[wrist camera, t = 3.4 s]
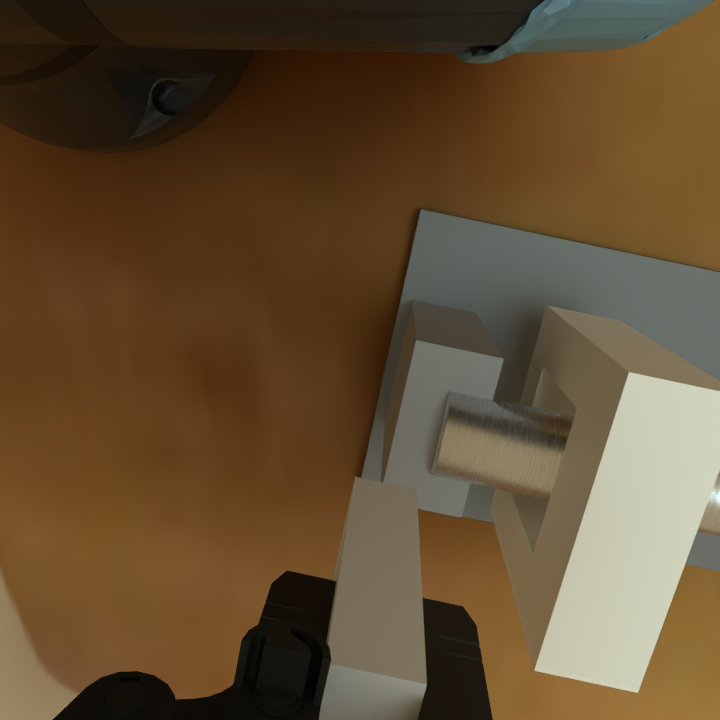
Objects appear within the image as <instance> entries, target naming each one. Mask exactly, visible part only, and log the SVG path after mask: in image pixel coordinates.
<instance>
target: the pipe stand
mask: <svg viewBox="0 0 720 720" xmlns="http://www.w3.org/2000/svg"><path fill="white" fill-rule="evenodd" d="M547 305H548V306H553V307H557V308H562V309H567V310H572V311H576V312H581V313H586V314H590V315H595V316H600V317H605V318H609V319H614V320H619V321H622V322H624V323H625V324H627V325H629V326H630V327H632V328H634V329H635V330H637V331H639V332H640V333H642V334H644V335H645V336H647V337H649V338H650V339H652V340H653V341H655V342H657V343H658V344H660V345H662V346H663V347H665V348H667V349H668V350H670V351H672V352H673V353H675V354H677V355H678V356H680V357H681V358H683V359H685V360H686V361H688V362H690V363H691V364H693V365H695V366H696V367H698V368H700V369H701V370H703V371H704V372H706V373H708V374H709V375H711V376H713V377H714V378H716V379H718V380H719V381H720V272H719V271H715V270H710V269H705V268H701V267H696V266H691V265H686V264H682V263H677V262H672V261H667V260H663V259H658V258H653V257H648V256H644V255H639V254H634V253H629V252H625V251H620V250H615V249H610V248H606V247H601V246H596V245H591V244H587V243H582V242H577V241H572V240H568V239H563V238H558V237H554V236H549V235H544V234H539V233H535V232H530V231H525V230H520V229H516V228H511V227H506V226H501V225H497V224H492V223H487V222H482V221H478V220H473V219H468V218H463V217H459V216H454V215H449V214H444V213H440V212H435V211H430V210H425V209H421V208H420V211H419V215H418V220H417V224H416V229H415V233H414V238H413V242H412V247H411V252H410V256H409V261H408V265H407V270H406V274H405V279H404V283H403V288H402V292H401V297H400V301H399V306H398V310H397V315H396V319H395V324H394V328H393V333H392V337H391V342H390V347H389V351H388V356H387V360H386V365H385V369H384V374H383V378H382V383H381V387H380V392H379V396H378V401H377V405H376V410H375V414H374V419H373V423H372V428H371V432H370V437H369V441H368V446H367V451H366V455H365V460H364V464H363V469H362V473H361V478H363V479H368V480H373V481H377V482H382V483H387V484H391V485H396V486H401V487H405V488H410V489H415V490H417V503H418V509H422V510H427V511H431V512H436V513H441V514H445V515H450V516H455V517H459V518H461V517H462V516H463V517H468V518H472V519H477V520H482V521H486V522H491V523H494V522H493V519H492V515H491V512H490V507H491V504H492V500H493V496H494V493H495V488H490V487H486V486H481V485H476V484H472V483H467V482H462V481H458V480H453V479H448V478H444V477H439V476H434V475H431V474H430V468H431V464H432V460H433V456H434V452H435V448H436V444H437V440H438V436H439V432H440V428H441V424H442V420H443V415H444V411H445V407H446V403H447V399H448V395H449V391H450V392H455V393H460V394H465V395H469V396H474V397H479V398H483V399H488V400H493V399H496V400H500V401H505V402H510V403H515V404H519V403H520V399H521V396H522V392H523V388H524V385H525V381H526V378H527V374H528V370H529V367H530V363H531V360H532V356H533V352H534V349H535V345H536V342H537V338H538V334H539V331H540V327H541V324H542V320H543V317H544V313H545V309H546V306H547ZM685 564H687V565H692V566H697V567H701V568H706V569H711V570H715V571H720V536H715V535H711V534H706V533H701V532H697V533H696V536H695V538H694V541H693V544H692V547H691V549H690V552H689V555H688V557H687V560H686V563H685Z"/></svg>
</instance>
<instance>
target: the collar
mask: <svg viewBox="0 0 720 720" xmlns="http://www.w3.org/2000/svg"><path fill="white" fill-rule="evenodd" d="M519 405H524V406H529V407H533V408H538V409H543V410H548V411H552V412H557V413H562V414H566V415H571V416H574V420H573V423H572V426H571V430H570V433H569V436H568V440H567V443H566V446H565V449H564V453H563V456H562V459H561V463H560V466H559V469H558V473H557V476H556V479H555V483H554V486H553V489H552V493H551V496H550V499H549V500H547V499H542V498H537V497H533V496H528V495H523V494H519V493H514V492H509V491H504V490H500V489H495V493H494V496H493V500H492V504H491V507H490V512H491V515H492V519H493V522H494V526H495V530H496V533H497V537H498V541H499V544H500V548H501V552H502V555H503V559H504V562H505V566H506V570H507V573H508V577H509V581H510V584H511V588H512V592H513V595H514V599H515V602H516V606H517V610H518V613H519V617H520V621H521V624H522V628H523V632H524V635H525V639H526V642H527V646H528V650H529V653H530V657H531V661H532V664H533V668H534V671H539V672H543V673H548V674H553V675H557V676H562V677H567V678H571V679H576V680H580V681H585V682H590V683H594V684H599V685H604V686H608V687H613V688H618V689H622V690H627V691H632V692H636V693H638V691H639V688H640V685H641V683H642V680H643V677H644V675H645V672H646V669H647V666H648V664H649V661H650V658H651V655H652V653H653V650H654V647H655V645H656V642H657V639H658V636H659V634H660V631H661V628H662V626H663V623H664V620H665V617H666V615H667V612H668V609H669V606H670V604H671V601H672V598H673V596H674V593H675V590H676V587H677V585H678V582H679V579H680V577H681V574H682V571H683V568H684V566H685V563H686V560H687V557H688V555H689V552H690V549H691V547H692V544H693V541H694V538H695V536H696V533H697V530H698V528H699V525H700V522H701V519H702V517H703V514H704V511H705V509H706V506H707V503H708V500H709V498H710V495H711V492H712V489H713V487H714V484H715V481H716V479H717V476H718V473H719V470H720V381H719V380H718V379H716V378H714V377H713V376H711V375H709V374H708V373H706V372H704V371H703V370H701V369H700V368H698V367H696V366H695V365H693V364H691V363H690V362H688V361H686V360H685V359H683V358H681V357H680V356H678V355H677V354H675V353H673V352H672V351H670V350H668V349H667V348H665V347H663V346H662V345H660V344H658V343H657V342H655V341H653V340H652V339H650V338H649V337H647V336H645V335H644V334H642V333H640V332H639V331H637V330H635V329H634V328H632V327H630V326H629V325H627V324H625V323H624V322H622V321H619V320H614V319H609V318H605V317H600V316H595V315H590V314H586V313H581V312H576V311H572V310H567V309H562V308H557V307H553V306H548V305H547V306H546V309H545V313H544V317H543V320H542V324H541V327H540V331H539V334H538V338H537V342H536V345H535V349H534V352H533V356H532V360H531V363H530V367H529V370H528V374H527V378H526V381H525V385H524V388H523V392H522V396H521V399H520V403H519Z"/></svg>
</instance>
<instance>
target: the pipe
mask: <svg viewBox="0 0 720 720" xmlns="http://www.w3.org/2000/svg"><path fill="white" fill-rule="evenodd" d="M573 420H574V416H571V415H566V414H562V413H557V412H552V411H548V410H543V409H538V408H533V407H529V406H524V405H519V404H515V403H510V402H505V401H500V400H496V399H493V400H488V399H483V398H479V397H474V396H469V395H465V394H460V393H455V392H450V391H449V395H448V399H447V403H446V407H445V411H444V415H443V420H442V424H441V428H440V432H439V436H438V440H437V444H436V448H435V452H434V456H433V460H432V464H431V468H430V474H431V475H434V476H439V477H444V478H448V479H453V480H458V481H462V482H467V483H472V484H476V485H481V486H486V487H490V488H495V489H500V490H504V491H509V492H514V493H519V494H523V495H528V496H533V497H537V498H542V499H547V500H549V499H550V496H551V493H552V489H553V486H554V483H555V479H556V476H557V473H558V469H559V466H560V463H561V459H562V456H563V453H564V449H565V446H566V443H567V440H568V436H569V433H570V430H571V426H572V423H573ZM697 532H701V533H706V534H711V535H715V536H720V470H719V473H718V476H717V479H716V481H715V484H714V487H713V489H712V492H711V495H710V498H709V500H708V503H707V506H706V509H705V511H704V514H703V517H702V519H701V522H700V525H699V528H698V530H697Z"/></svg>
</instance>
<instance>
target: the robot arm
mask: <svg viewBox="0 0 720 720" xmlns="http://www.w3.org/2000/svg"><path fill="white" fill-rule="evenodd" d="M712 1H713V0H0V122H1V123H2V124H4V125H6V126H8V127H10V128H12V129H14V130H15V131H17V132H19V133H22V134H24V135H26V136H29V137H31V138H34V139H36V140H39V141H42V142H45V143H48V144H52V145H56V146H60V147H64V148H71V149H78V150H86V151H95V152H128V151H134V150H140V149H145V148H149V147H152V146H155V145H159V144H162V143H164V142H166V141H169V140H171V139H173V138H175V137H177V136H179V135H181V134H183V133H185V132H186V131H188V130H190V129H191V128H193V127H194V126H196V125H197V124H198V123H200V122H201V121H202V120H204V119H205V118H206V117H207V116H208V115H209V114H211V113H212V112H213V111H214V110H215V109H216V108H217V107H218V106H219V105H220V104H221V103H222V101H223V100H224V99H225V98H226V97H227V95H228V94H229V93H230V92H231V90H232V89H233V87H234V86H235V85H236V83H237V82H238V80H239V78H240V77H241V75H242V74H243V72H244V70H245V68H246V66H247V64H248V62H249V60H250V58H251V56H252V53H253V51H254V50H286V51H343V52H399V53H455V54H456V56H457V57H458V59H459V60H460V61H462V62H466V63H479V64H480V63H492V62H496V61H499V60H501V59H504V58H507V57H509V56H511V55H514V54H516V53H538V52H572V51H604V50H615V49H621V48H625V47H629V46H633V45H636V44H640V43H643V42H646V41H648V40H650V39H652V38H654V37H655V36H657V35H658V34H659V33H661V32H662V31H664V30H665V29H667V28H668V27H670V26H673V25H676V24H678V23H679V22H681V21H682V20H683V19H685V18H687V17H690V16H692V15H694V14H696V13H698V12H699V11H700V10H702V9H703V8H705V7H706V6H707V5H709V4H710V3H711V2H712ZM53 720H493V719H492V714H491V708H490V702H489V697H488V691H487V685H486V679H485V673H484V668H483V664H482V656H481V650H480V648H479V639H478V633H477V627H476V624H475V623H474V621H473V620H472V619H471V617H470V616H469V614H468V613H467V612H466V610H465V609H464V607H463V606H458V605H453V604H449V603H444V602H439V601H435V600H430V599H425V598H422V579H421V560H420V541H419V522H418V503H417V490H415V489H410V488H405V487H401V486H396V485H391V484H387V483H382V482H377V481H373V480H368V479H363V478H359V477H355V480H354V484H353V489H352V493H351V498H350V502H349V507H348V512H347V516H346V521H345V525H344V530H343V534H342V539H341V544H340V548H339V553H338V557H337V562H336V566H335V571H334V576H333V580H328V579H324V578H319V577H314V576H310V575H305V574H300V573H296V572H291V571H286V572H285V573H284V574H282V575H281V576H280V577H279V578H278V579H276V580H275V581H274V582H273V583H272V584H271V587H270V590H269V593H268V597H267V600H266V604H265V606H264V609H263V612H262V615H261V618H260V621H259V624H258V625H257V626H255V627H253V628H252V629H250V630H249V631H248V632H247V633H246V635H245V636H244V638H243V639H242V641H241V647H240V652H239V657H238V663H237V668H236V674H235V679H234V684H233V685H232V686H231V687H229V688H227V689H226V690H224V691H222V692H221V693H218V694H215V695H212V696H209V697H203V698H196V699H179V700H175V695H174V694H173V692H172V691H171V689H170V687H169V686H168V684H166V683H165V682H163V681H162V680H160V679H159V678H157V677H156V676H154V675H150V674H146V673H142V672H138V671H134V672H117V673H114V674H111V675H108V676H105V677H101V678H100V679H98V680H97V681H95V682H94V683H92V684H91V685H89V686H88V687H86V688H85V689H84V690H83V691H82V692H81V693H80V694H79V695H78V696H77V697H76V698H75V699H74V700H73V701H72V702H71V703H70V704H69V705H68V706H67V707H66V708H64V709H63V710H62V711H61V712H60V714H58V715H57V716H56V717H55V718H54V719H53Z"/></svg>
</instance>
